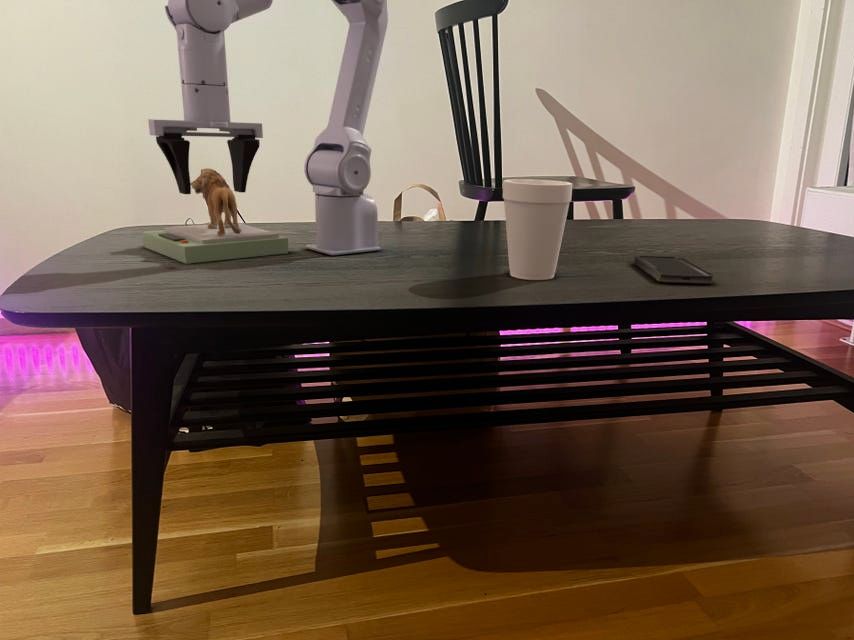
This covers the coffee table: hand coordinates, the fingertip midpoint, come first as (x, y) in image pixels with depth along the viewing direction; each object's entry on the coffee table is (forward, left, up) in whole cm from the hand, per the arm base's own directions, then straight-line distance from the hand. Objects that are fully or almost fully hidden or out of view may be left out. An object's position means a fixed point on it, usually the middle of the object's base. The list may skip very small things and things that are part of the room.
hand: (213, 192), depth 95 cm
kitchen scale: (-5, -11, -10) cm, 16 cm away
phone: (-52, +41, -10) cm, 67 cm away
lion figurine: (-6, -11, -7) cm, 14 cm away
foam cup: (-33, +30, -10) cm, 45 cm away
